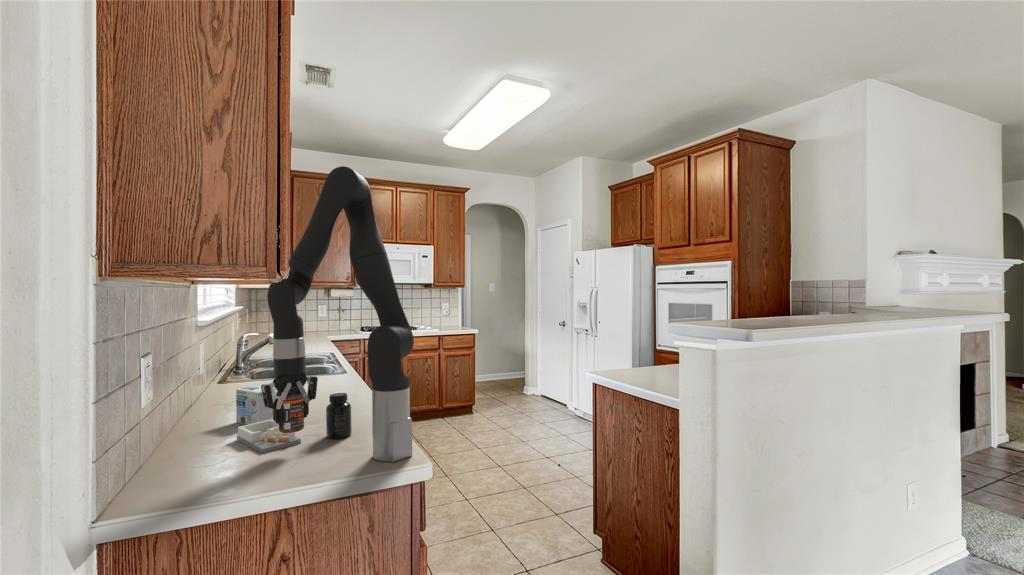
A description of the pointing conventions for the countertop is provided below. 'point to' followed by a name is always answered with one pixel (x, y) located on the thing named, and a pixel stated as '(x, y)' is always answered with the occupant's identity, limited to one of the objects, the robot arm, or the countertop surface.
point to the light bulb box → (252, 405)
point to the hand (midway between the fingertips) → (291, 419)
